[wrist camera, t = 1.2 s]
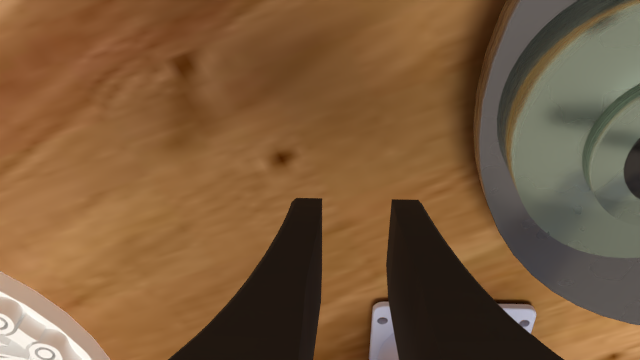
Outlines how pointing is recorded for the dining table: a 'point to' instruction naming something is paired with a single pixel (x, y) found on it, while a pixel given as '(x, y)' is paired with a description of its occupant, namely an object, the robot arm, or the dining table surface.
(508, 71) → the turntable platter
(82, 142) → the dining table surface
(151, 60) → the dining table surface
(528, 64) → the cover
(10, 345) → the medallion
